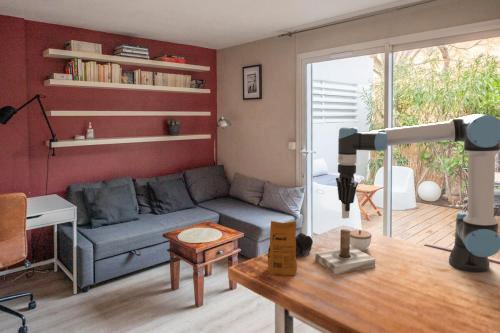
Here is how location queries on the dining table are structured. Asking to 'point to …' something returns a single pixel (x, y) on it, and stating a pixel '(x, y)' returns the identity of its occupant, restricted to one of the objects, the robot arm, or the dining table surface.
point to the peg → (345, 243)
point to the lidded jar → (360, 239)
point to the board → (344, 260)
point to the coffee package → (282, 249)
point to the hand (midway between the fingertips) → (345, 217)
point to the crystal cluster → (303, 245)
